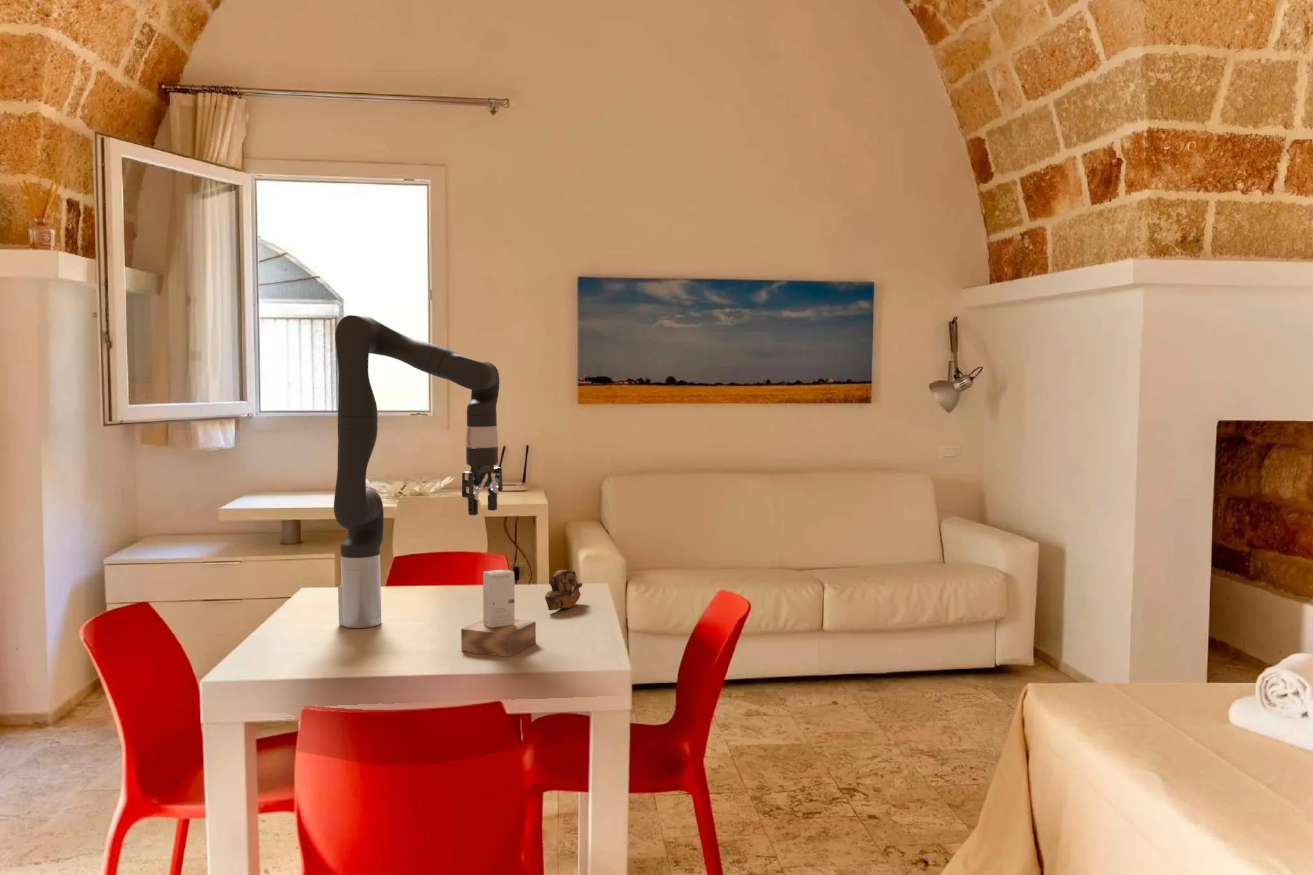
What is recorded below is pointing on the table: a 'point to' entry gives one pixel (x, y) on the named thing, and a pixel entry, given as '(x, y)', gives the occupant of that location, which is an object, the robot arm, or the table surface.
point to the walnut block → (498, 638)
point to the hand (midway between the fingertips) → (483, 512)
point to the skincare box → (498, 598)
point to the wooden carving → (563, 590)
